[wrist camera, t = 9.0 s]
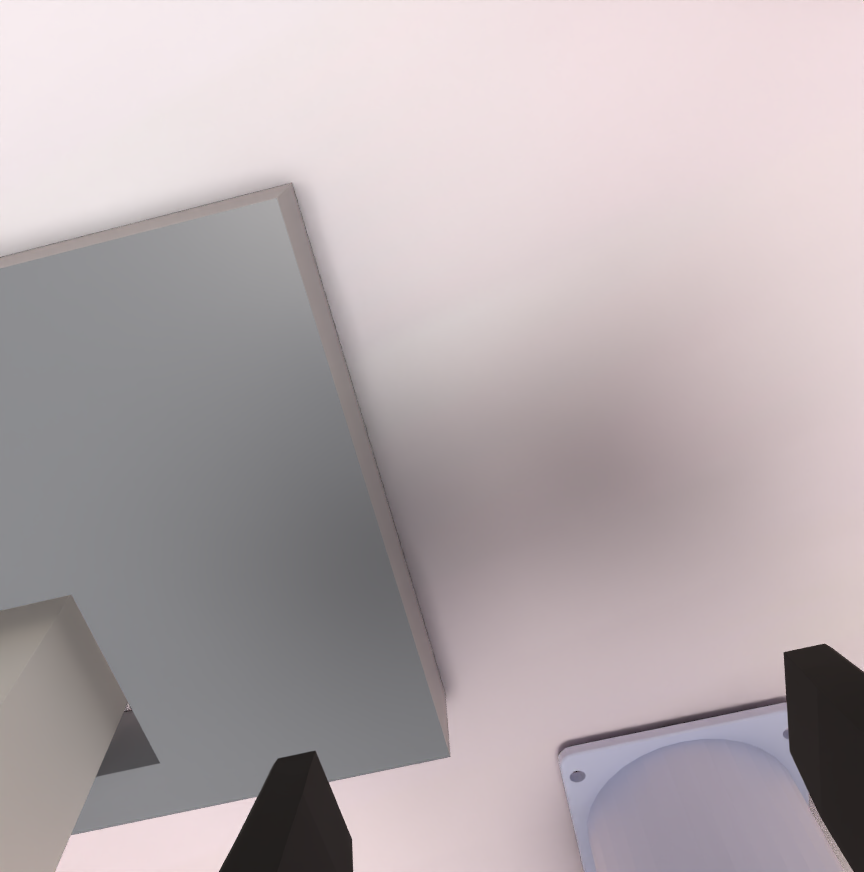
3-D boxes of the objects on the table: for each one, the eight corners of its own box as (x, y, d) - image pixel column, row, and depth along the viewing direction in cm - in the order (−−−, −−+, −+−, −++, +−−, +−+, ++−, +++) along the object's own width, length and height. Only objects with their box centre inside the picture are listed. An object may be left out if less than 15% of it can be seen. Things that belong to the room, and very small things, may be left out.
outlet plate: (445, 694, 25) (450, 756, 23) (-28, 794, 26) (-69, 864, 24) (291, 182, 18) (276, 197, 16) (-336, 343, 19) (-434, 378, 17)
